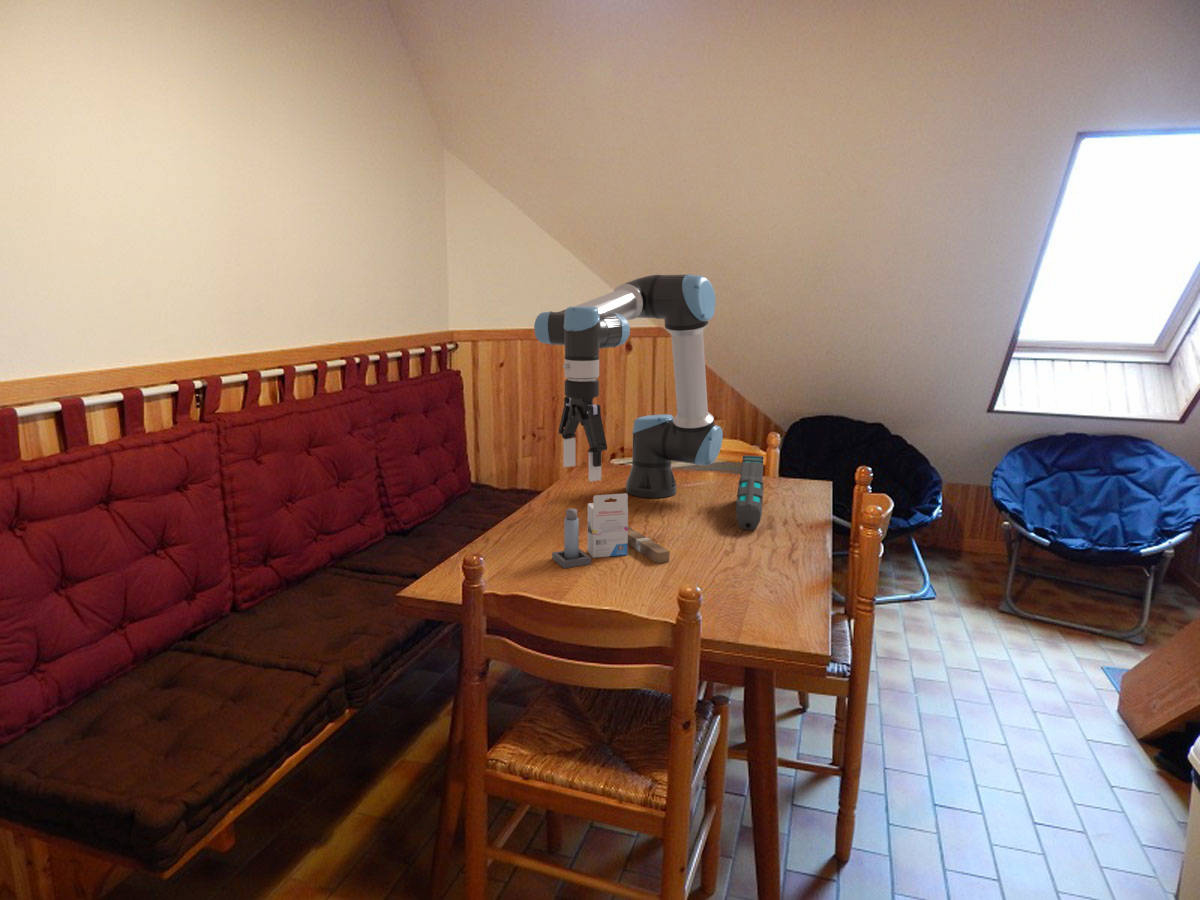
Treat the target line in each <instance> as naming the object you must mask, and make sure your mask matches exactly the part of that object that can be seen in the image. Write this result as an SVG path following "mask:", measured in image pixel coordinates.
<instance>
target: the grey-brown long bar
mask: <svg viewBox="0 0 1200 900" xmlns="http://www.w3.org/2000/svg"><path fill="white" fill-rule="evenodd" d="M627 546H630V547H631V548H632V549H634V550H636V551H637V552H639V553H640V554H642V555H643V556H645V557H646V558H648V559H650V560H651V561H652V562H654V563H656V565H657V564H662V563H670V551H669V549H667V548H665V547H663V546H662V545H660V544H658V543H656V542H655V541H653V539H652V538H649V537H647V536H645V535H643V534H642V533H640V532H638V531H637V530H635V529H634V528H632V527H630V526H628V543H627Z"/></svg>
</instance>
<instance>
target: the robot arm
mask: <svg viewBox="0 0 1200 900" xmlns="http://www.w3.org/2000/svg"><path fill="white" fill-rule="evenodd" d="M716 302H717V301H716V295H715V289H714V288H713V284H712V282H711V281H709V279H708V278H706V277H705V276H703V275H693V274H690V273H689V274H653V275H646V276H642V277H639V278H636V279H633V280H630V281H628V282H625V283H621V284H620V285H618V286H617V287H616V288H615V289H614V290H613V291H611V292H609V293H606V294H604V295H601V296H598V297H596V298H593V299H590V300H588V301H584V302H582V303H580V304H577V305H575V306H568V307H567V308H566V309H563V310H560V311H543V312H541V313H539V314H538V315H537V316H536V318H535V321H534V325H533V328H534V335H535V337H536V339H537V341H539V343H541V344H547V345H551V346H564V364H563V365H562V368H563V369H564V377H565V378H566V379H565V380H564V397H563V398H564V399H563V410H562V413H561V414H562V415H561V418H560V423H559V428H558V434H559V435H561V438H562V439H563V441H562V443H563V446H562V447H563V456H562V457H563V459H562V460H563V461H562V462H563V463H562V464H563V467H564V468H570V467H571V468H572V467H576V437H577V436H576V431H577V429H578V426H579V425H581V426H582V427H583V430H584V434H585V436H586V439H587V443H588V446H589V449H588V450H587V452H588V481H589V482H597V481H602V452H604V451H605V450H607V449H608V444H607V440H606V439H607V438H606V435H605V431H604V430H605V429H604V424H603V421H602V420H603V419H602V416H601V415H602V414H601V413H602V412H601V405H600V404H594V402H593V401H594V398H597V397H599V395H600V381H599V380H598V378H599V377H600V350H601V349H607V348H616V347H619V346H622V345H624V344H625V343H626V342H627V341H628V339H629V337H630V334H631V327H630V324H629V323H630V322H629V321H630V320H635V319H641V318H644V319H646V318H647V319H659V320H664V328H665V330H666V331H667V332H669V333H670V336H671V349H672V362H673V372H674V373H673V374H674V385H675V389H674V390H675V399H676V400H675V401H676V413H677V414H676V415H675V416H673V415H672V414H666V413H665V414H662V413H661V414H651V415H645V416H644V415H643V416H640V417H637V418H635V420H634V422H633V428H632V457H631V458H632V459H631V460H632V464H631V469H630V470H629V471H630V472H629V475H628V476H627V481H626V483H625V492H626V493H627V494H628V495H631V496H635V497H639V498H647V499H648V498H649V499H650V498H651V499H659V498H668V497H672V496H674V495H675V494H677V483H676V480H675V475H674V471H673V469H672V462H678V463H683V464H690V465H694V466H710V465H712V464H713V463H714V462H715V461H716V460H717V458H718V456H719V454H720V451H721V448H722V445H723V437H724V436H723V435H724V433H723V429H722V428H721V426H718V425H717V424H716V425H715V418H714V416H713V414H711V413H710V412H709V410H708V409H709V407H708V392H707V377H706V376H707V375H706V374H707V373H706V361H705V360H706V359H705V343H704V342H705V341H704V330H705V329H706V328H707V327H708V325H709V321H710V320H711V319H713V317H714V315H715V311H716V310H715V308H716V304H717V303H716Z"/></svg>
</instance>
